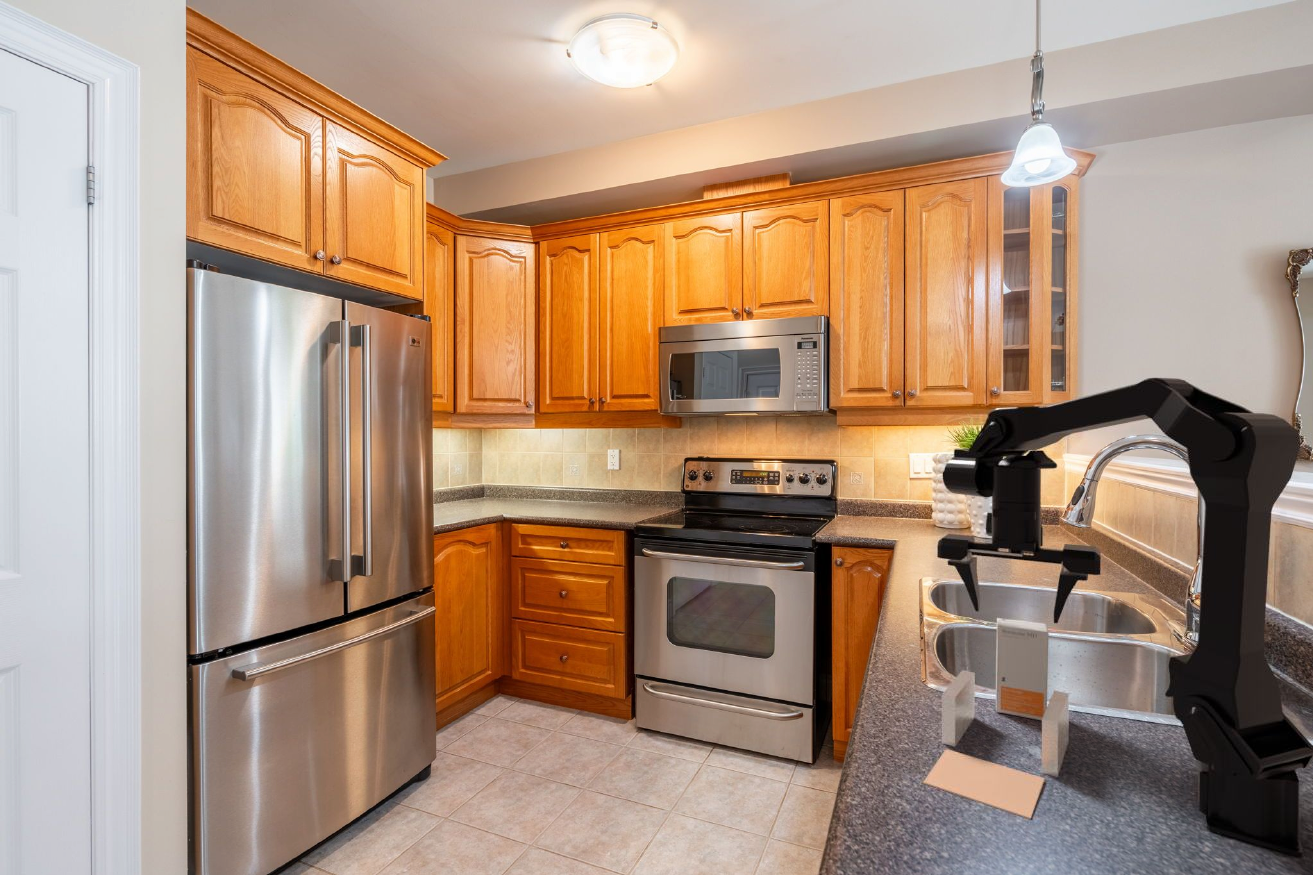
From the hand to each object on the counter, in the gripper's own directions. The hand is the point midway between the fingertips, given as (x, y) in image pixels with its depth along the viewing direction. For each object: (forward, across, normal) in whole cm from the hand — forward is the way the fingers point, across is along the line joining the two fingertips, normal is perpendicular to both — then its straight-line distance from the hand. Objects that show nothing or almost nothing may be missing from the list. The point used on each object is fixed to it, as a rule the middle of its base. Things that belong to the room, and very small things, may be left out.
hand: (1015, 616), depth 85 cm
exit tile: (+13, +1, +21) cm, 25 cm away
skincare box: (+13, -1, -1) cm, 13 cm away
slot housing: (+13, 0, +10) cm, 16 cm away
